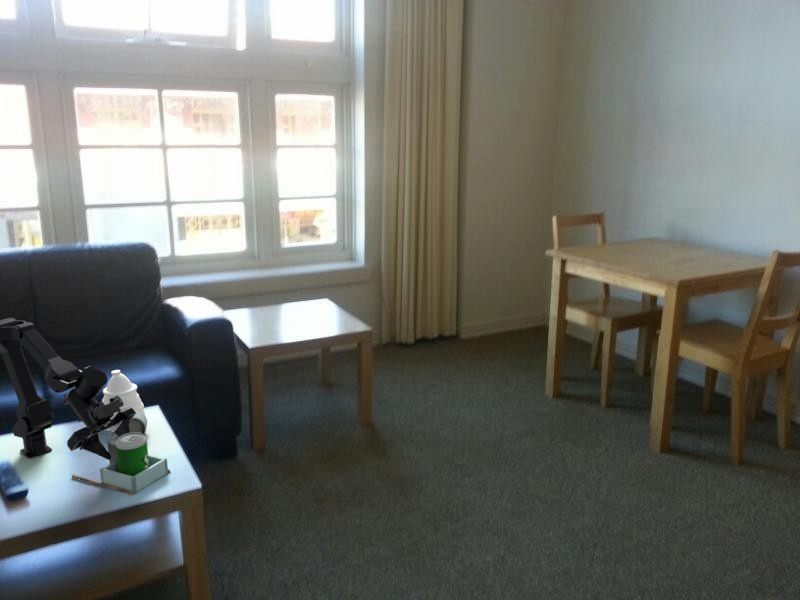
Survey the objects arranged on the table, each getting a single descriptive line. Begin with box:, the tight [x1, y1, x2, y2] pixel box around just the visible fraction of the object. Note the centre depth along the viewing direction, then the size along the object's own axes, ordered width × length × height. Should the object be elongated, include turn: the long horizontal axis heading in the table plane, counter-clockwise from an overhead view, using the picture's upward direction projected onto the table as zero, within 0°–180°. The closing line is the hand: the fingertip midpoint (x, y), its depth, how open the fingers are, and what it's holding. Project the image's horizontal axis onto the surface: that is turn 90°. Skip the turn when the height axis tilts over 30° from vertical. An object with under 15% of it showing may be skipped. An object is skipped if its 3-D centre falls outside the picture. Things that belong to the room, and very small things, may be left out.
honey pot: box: [101, 369, 146, 433], centre depth 208 cm, size 13×13×18 cm
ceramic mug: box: [109, 411, 148, 440], centre depth 199 cm, size 11×8×8 cm
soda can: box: [116, 432, 149, 476], centre depth 174 cm, size 8×8×12 cm
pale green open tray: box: [99, 437, 169, 494], centre depth 174 cm, size 13×12×10 cm
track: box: [71, 468, 171, 496], centre depth 177 cm, size 22×13×1 cm, turn 65°
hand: (121, 452), depth 175 cm, fingers open, 7 cm apart
